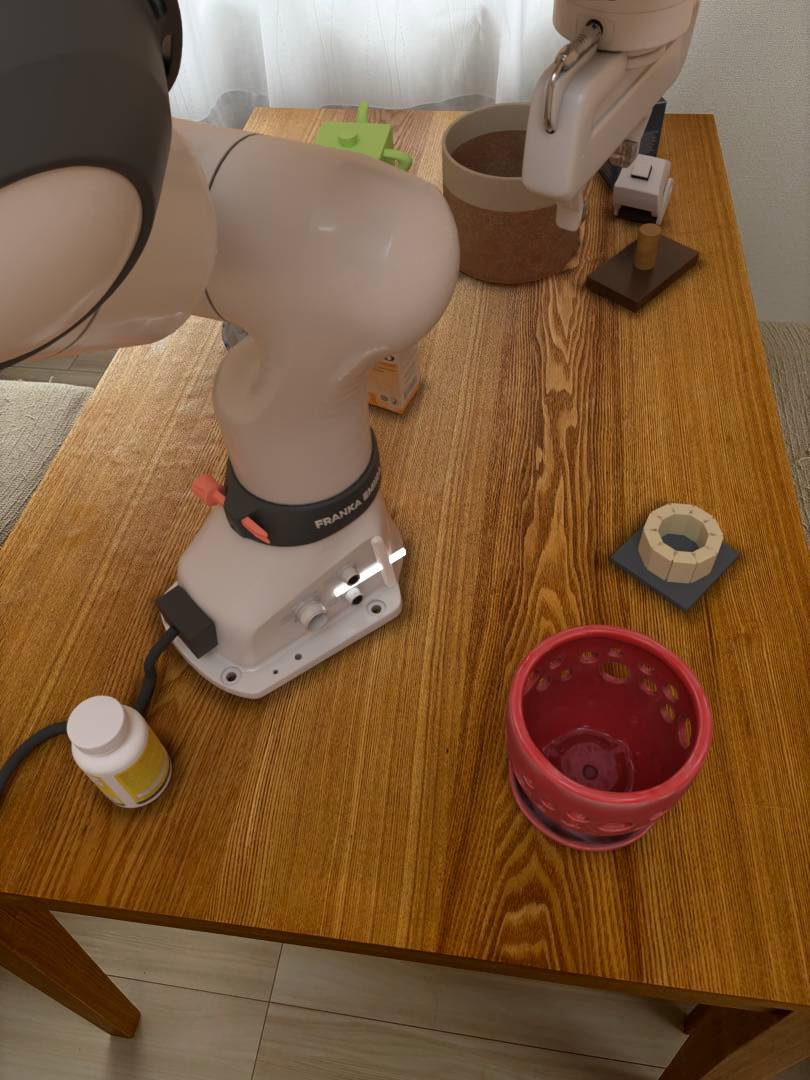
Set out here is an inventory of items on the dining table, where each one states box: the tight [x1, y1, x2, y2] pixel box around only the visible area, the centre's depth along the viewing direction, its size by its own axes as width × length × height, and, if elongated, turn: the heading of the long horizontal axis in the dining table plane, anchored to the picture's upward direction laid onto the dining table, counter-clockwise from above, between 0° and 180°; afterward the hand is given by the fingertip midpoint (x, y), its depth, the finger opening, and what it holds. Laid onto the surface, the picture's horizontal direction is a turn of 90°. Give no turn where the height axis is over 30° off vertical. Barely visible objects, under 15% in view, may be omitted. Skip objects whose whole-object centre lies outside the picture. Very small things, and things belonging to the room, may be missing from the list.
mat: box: [609, 523, 741, 614], centre depth 76 cm, size 8×8×1 cm
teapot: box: [312, 100, 413, 173], centre depth 107 cm, size 15×13×11 cm
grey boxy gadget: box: [611, 154, 675, 226], centre depth 104 cm, size 6×7×10 cm
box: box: [598, 96, 668, 190], centre depth 109 cm, size 8×6×11 cm
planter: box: [441, 101, 584, 285], centre depth 100 cm, size 16×16×14 cm
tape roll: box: [638, 502, 724, 584], centre depth 75 cm, size 6×7×3 cm
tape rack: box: [585, 223, 701, 314], centre depth 98 cm, size 12×7×6 cm, turn 135°
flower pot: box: [504, 623, 714, 853], centre depth 61 cm, size 13×13×12 cm
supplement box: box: [368, 342, 420, 415], centre depth 86 cm, size 8×5×13 cm, turn 64°
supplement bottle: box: [66, 694, 173, 809], centre depth 64 cm, size 5×5×10 cm
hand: (597, 192), depth 66 cm, fingers open, 8 cm apart
